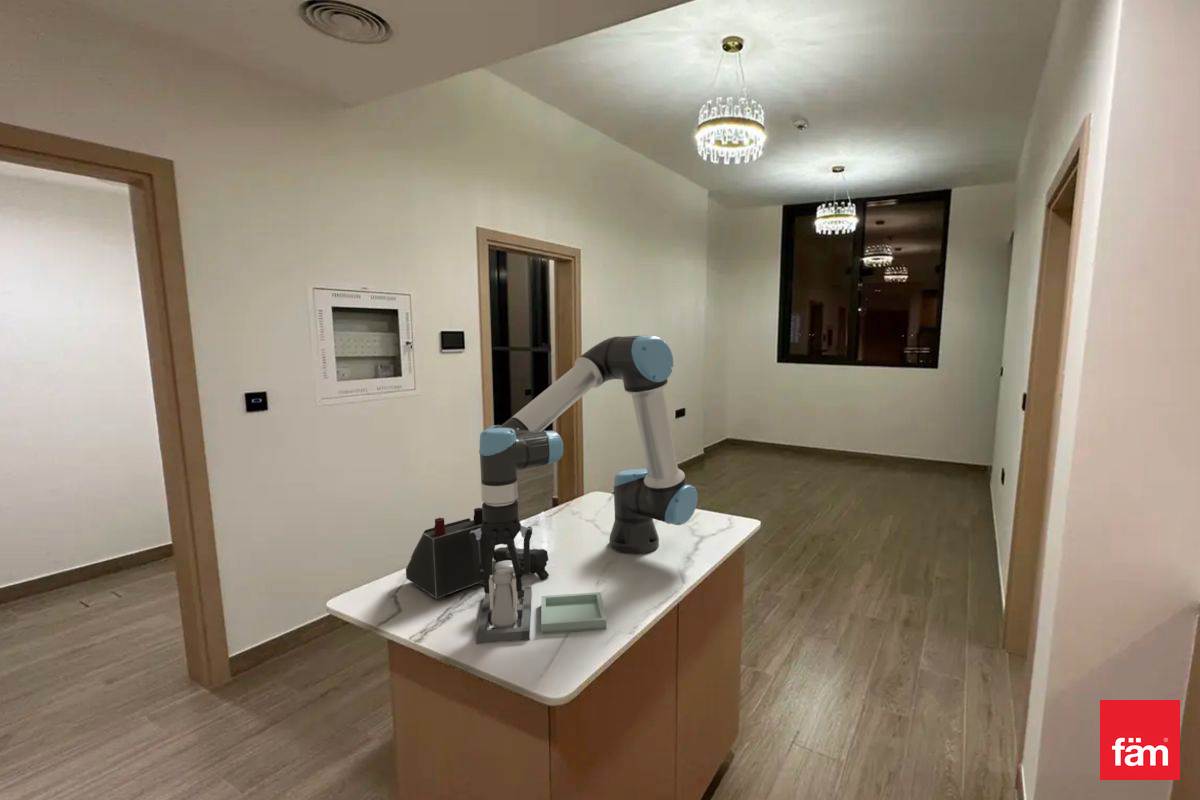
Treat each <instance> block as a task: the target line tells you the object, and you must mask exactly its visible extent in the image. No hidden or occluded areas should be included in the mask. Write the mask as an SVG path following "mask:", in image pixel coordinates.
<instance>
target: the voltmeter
mask: <svg viewBox="0 0 1200 800" xmlns="http://www.w3.org/2000/svg"><path fill="white" fill-rule="evenodd" d="M482 524H483V515H482V507H477V508H474V509H473V520H471V519H470V517H468V518H464V519H462V520H456V521H453V522H450V523H446V524H445V518H444V517H437V518H435V519H434V526H433V527H431V528H428V529H425V530H424V531H423V533H422V535H421V537H420V538H419V541H418V543H417V545H416V546H415V548H414V550H413V551H412V555H411V557H410V560H409V562H408V564H407V566H406V568H405V576H406V579H407V580H408V581H409V582H411V583H413V585H414V586H416V587H418V588H420V589H422V590H423V591H424V592H426V593H428V595H430V596H432V597H433V598H435V599H436V600H438V601H440V600H441V601H442V600H444V599H445V598H446V597H445V596H447V595H449V594H452V593H455V592H457V591H460V590H463V589H466V588H468V587H471V586H474V585H476V584H478V585H484V580H483V579H482V578H480V577H479V578H476V577H475V573H474V559H473V545H472V542H471V540H470V538H469V534H470V532H471V530H477V529H479V528H481V525H482ZM489 544H490V542H489V541H488V539H487V538H486V537H485V536H484V535H483V533H482V534H481V538H480V553H481V568H482V570H485V566H486V560H487V555H488V550H489ZM493 560H494V559H493ZM493 560H492V566H491V571H490V575H493V573H494V565H493V564H494V563H493Z"/></svg>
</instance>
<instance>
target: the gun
mask: <svg viewBox="0 0 1200 800" xmlns="http://www.w3.org/2000/svg"><path fill="white" fill-rule="evenodd" d="M516 551H517V555H518V559H519V562H520V566H521V568H522V567H524V548H517V547H516ZM493 560H494V561H495V562H496V563H498V562H500V561H505V560H511V557H510V553H509V550H508V547H507V546H505V547H504V546H503V547H502V546H501V547H500V546H499V547H498V548H495V550H494V555H493ZM548 561H549V555H548V551H547V550H546V549H544V548H533V549H531V548H530V572H529V573H530V574H531V575H534V574H535V575H537V577H538V578H539V579H540V580H541V581H543V580H546V579H547V578H549V576H550V574H549V572H548V571H547V570H546V566H548V563H547V562H548Z"/></svg>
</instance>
